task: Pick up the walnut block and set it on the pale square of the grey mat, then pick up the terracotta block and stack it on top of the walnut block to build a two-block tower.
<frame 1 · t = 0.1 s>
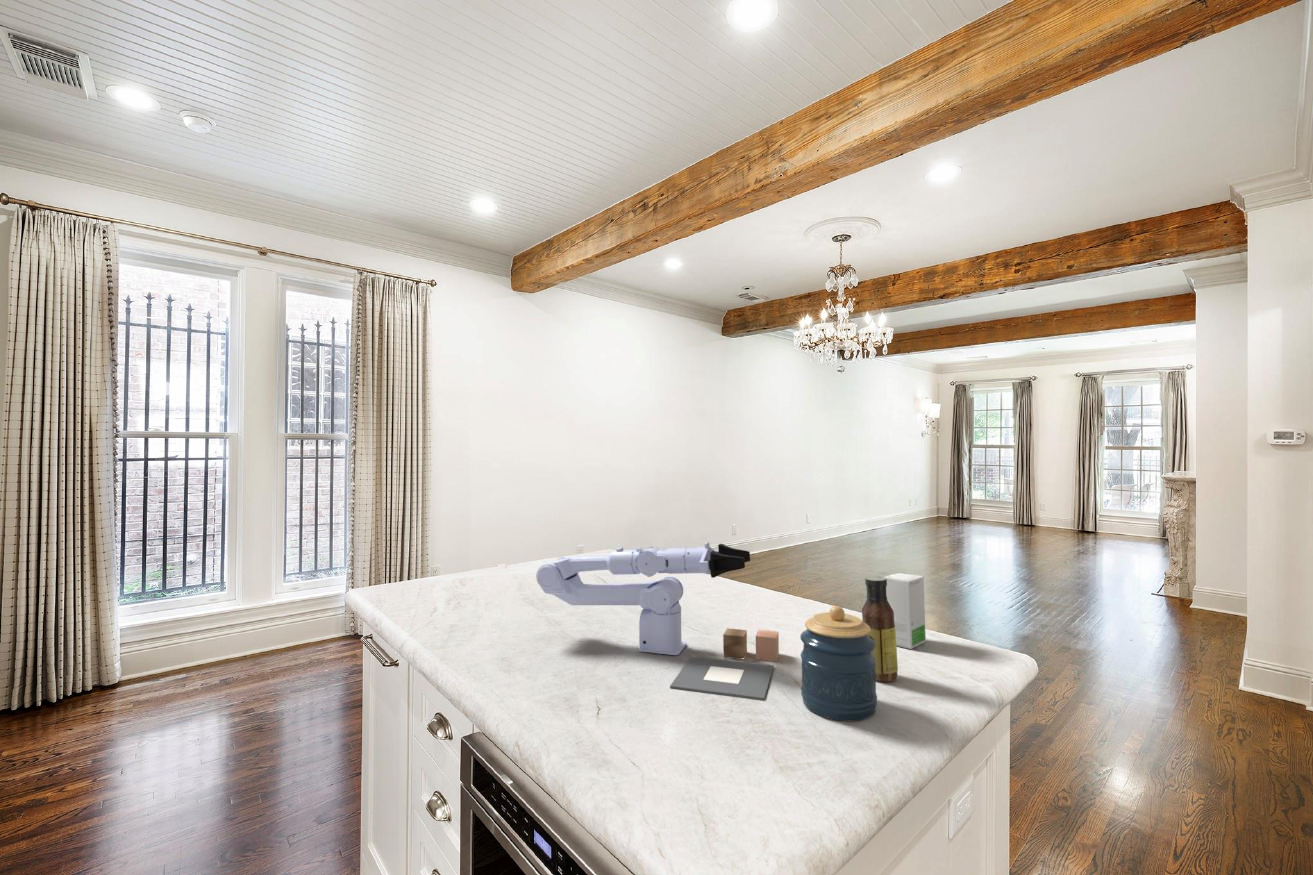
hand: (747, 559, 123), 22 cm above the countertop, tool horizontal, fingers open, 7 cm apart
grey mat: (724, 677, 112), on the countertop
walnut block: (735, 654, 124), on the countertop
canister: (838, 706, 99), on the countertop
terracotta block: (767, 656, 123), on the countertop
sauce bottle: (880, 678, 111), on the countertop
skincare box: (904, 643, 131), on the countertop
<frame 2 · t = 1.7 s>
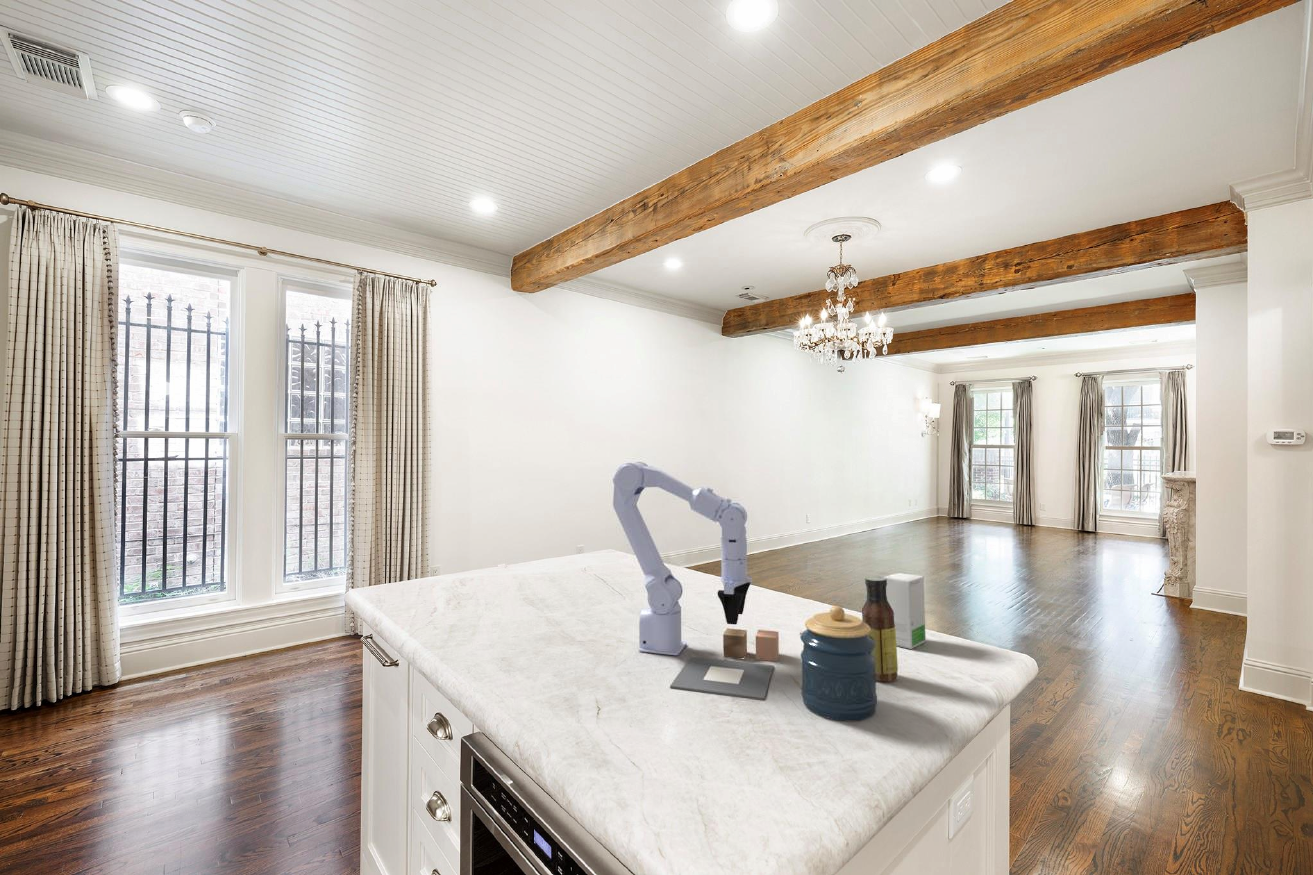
hand: (735, 618, 124), 8 cm above the countertop, tool pointing down, fingers open, 7 cm apart
nothing on the countertop moved.
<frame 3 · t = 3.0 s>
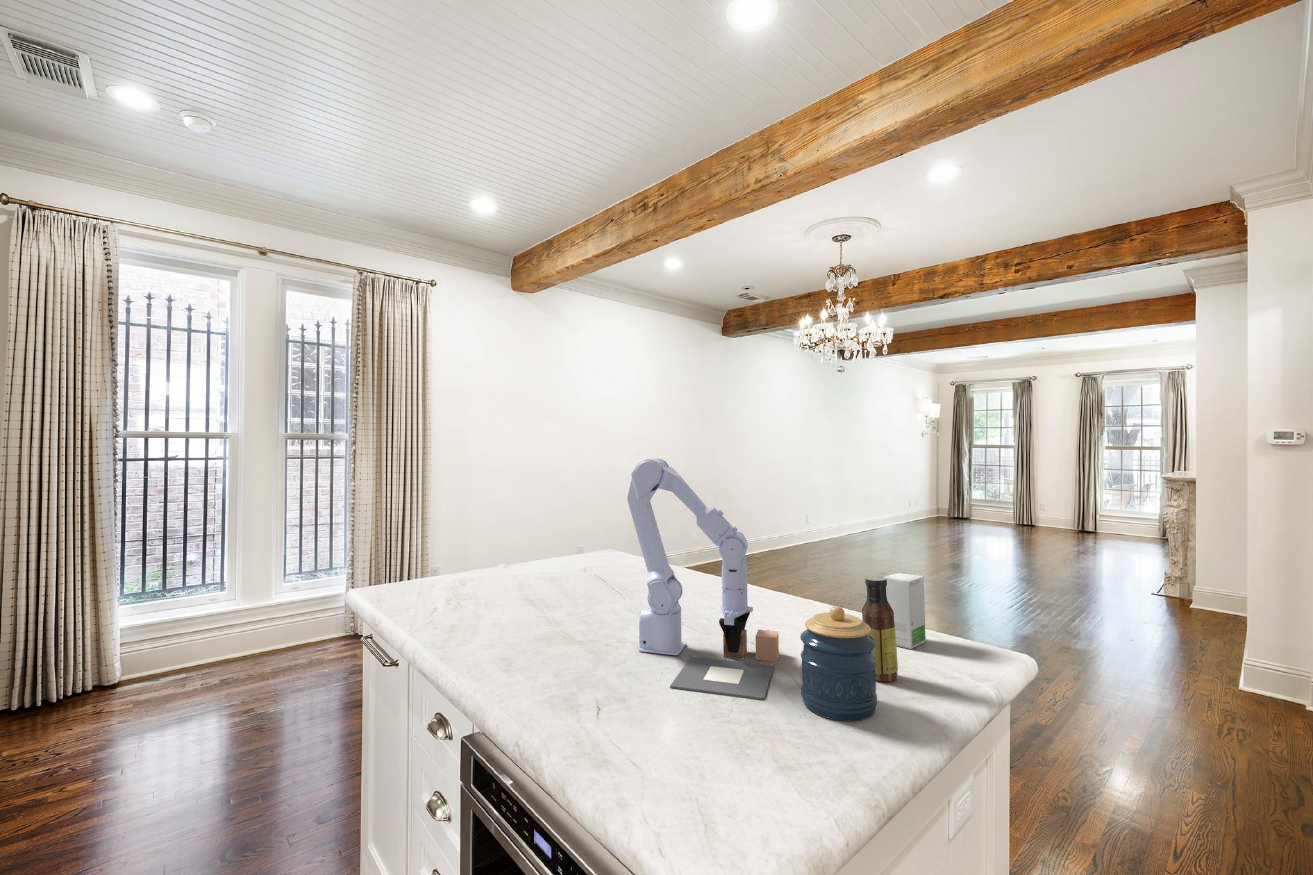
hand: (735, 647, 124), 1 cm above the countertop, tool pointing down, fingers closed on walnut block, 4 cm apart
walnut block: (735, 654, 124), on the countertop, touching gripper
everything else where it was.
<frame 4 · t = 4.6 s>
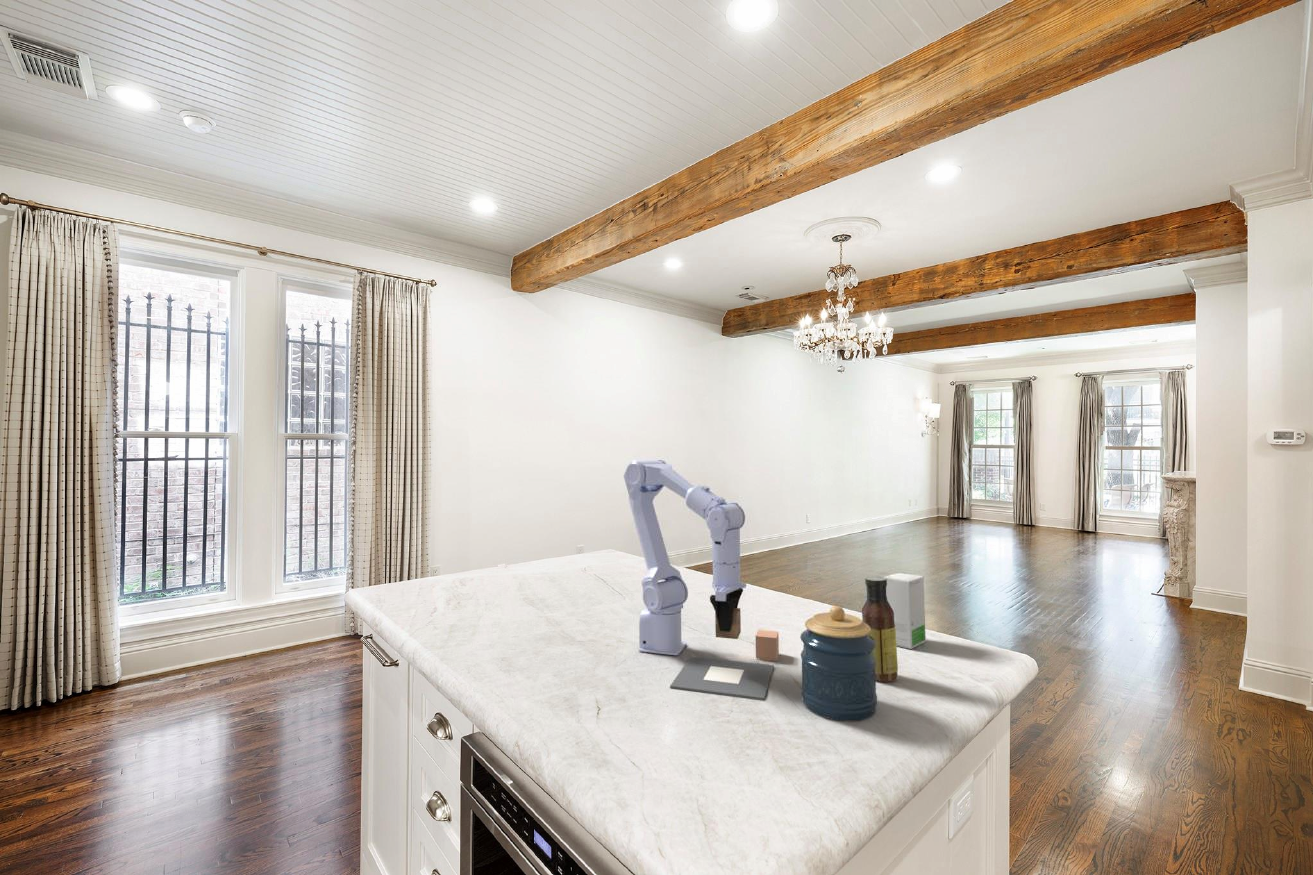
hand: (727, 627, 115), 9 cm above the countertop, tool pointing down, fingers closed on walnut block, 4 cm apart
walnut block: (728, 634, 115), point 7 cm above the countertop, touching gripper
everything else where it was.
when the fingers open (4 cm above the countertop, at t = 6.3 s): walnut block drops 2 cm, resting on grey mat.
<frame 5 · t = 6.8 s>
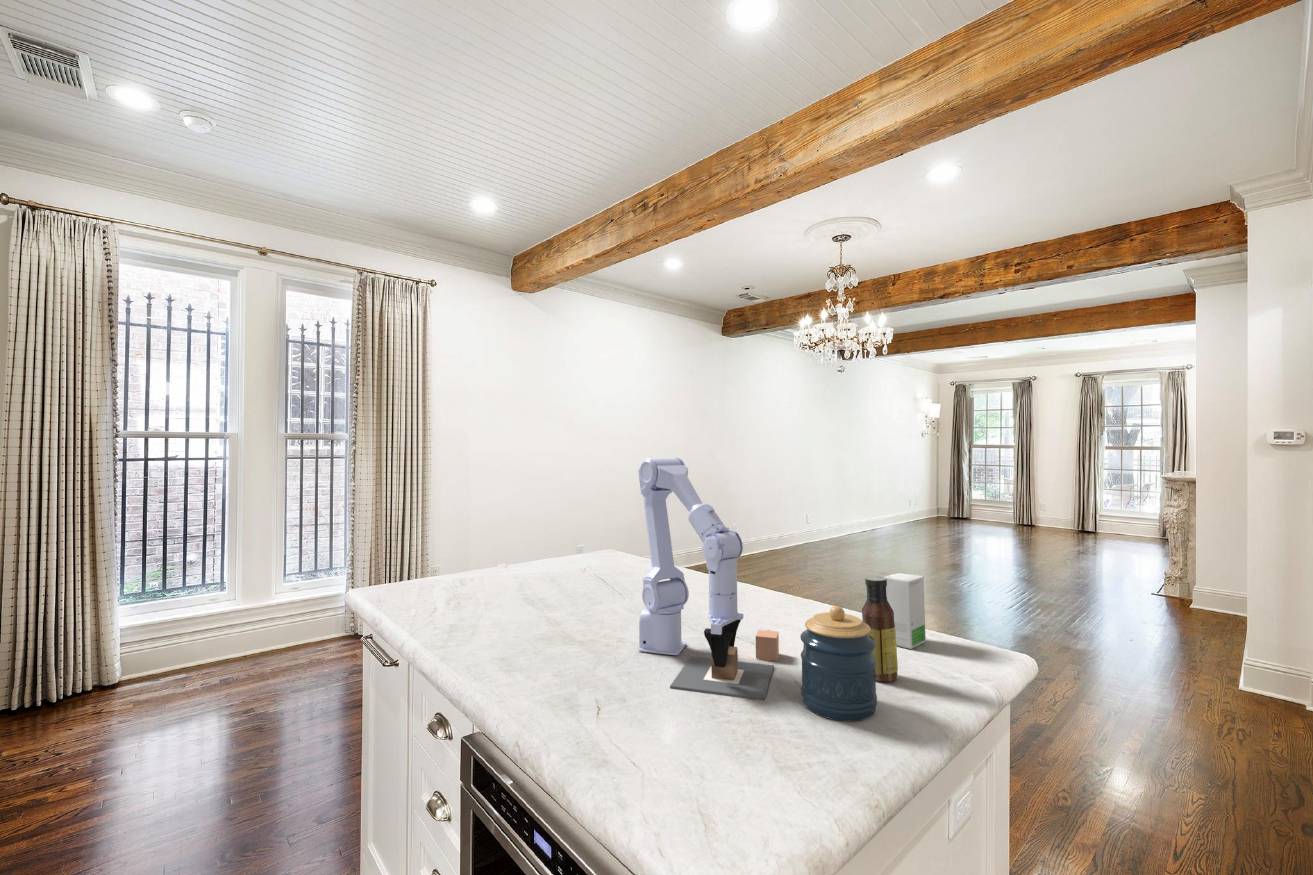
hand: (723, 659, 112), 4 cm above the countertop, tool pointing down, fingers open, 7 cm apart
walnut block: (724, 674, 112), resting on grey mat
everything else where it was.
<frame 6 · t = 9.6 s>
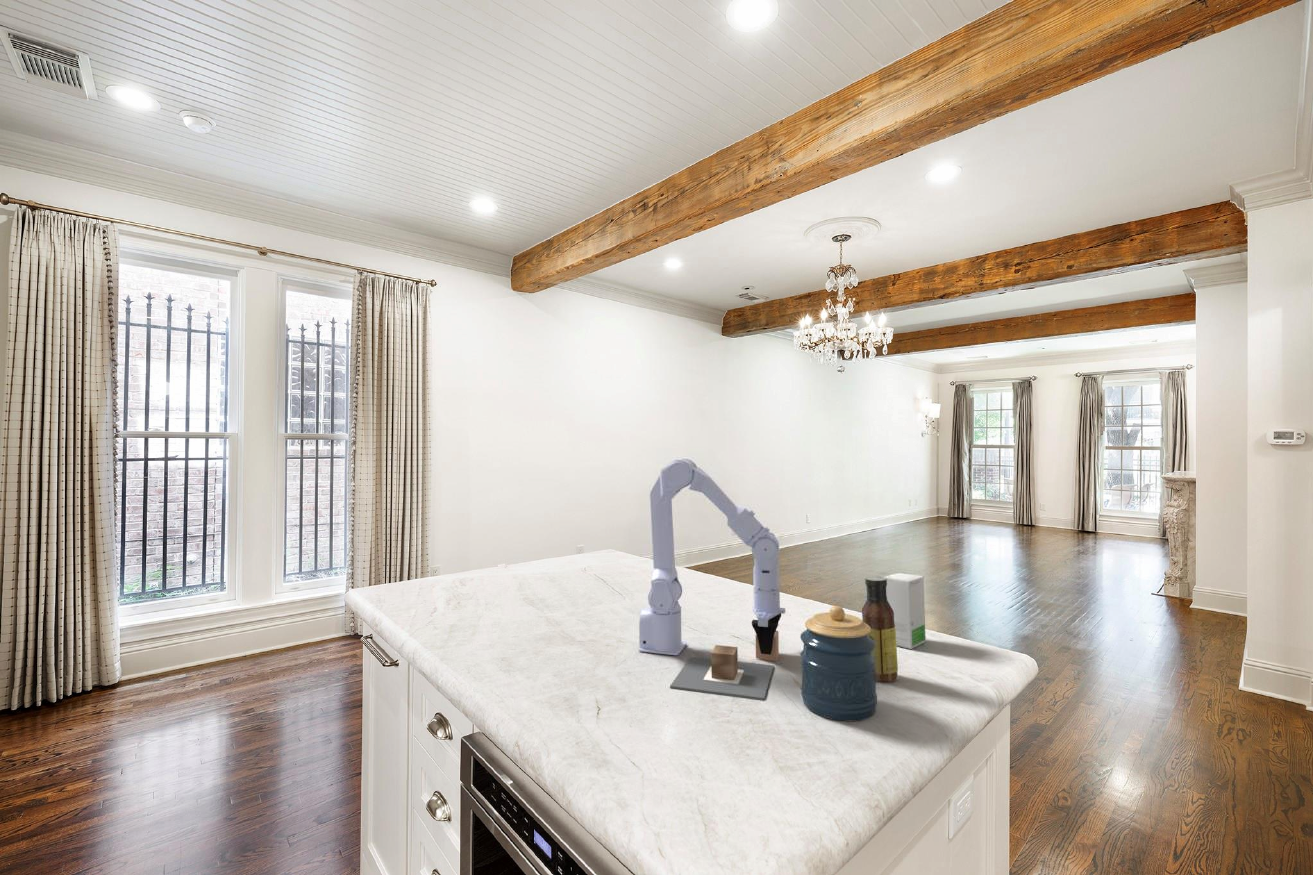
hand: (767, 649, 123), 1 cm above the countertop, tool pointing down, fingers closed on terracotta block, 4 cm apart
terracotta block: (767, 656, 123), on the countertop, touching gripper
everything else where it was.
when the fingers open (8 cm above the countertop, at t = 12.9 s): terracotta block drops 1 cm, resting on walnut block.
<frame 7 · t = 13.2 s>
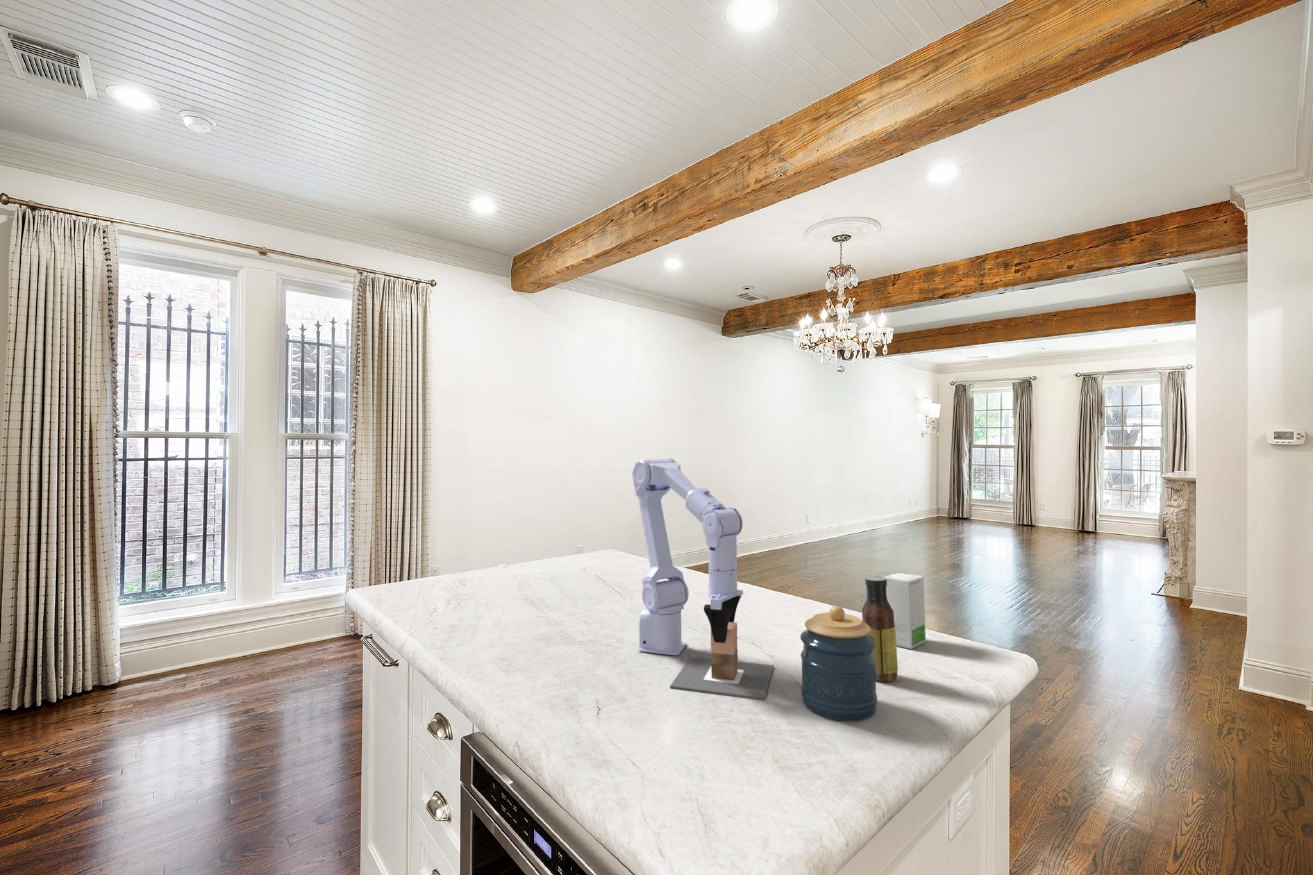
hand: (723, 635, 112), 8 cm above the countertop, tool pointing down, fingers open, 7 cm apart
walnut block: (724, 674, 112), resting on grey mat, touching terracotta block
terracotta block: (724, 649, 112), point 5 cm above the countertop, touching walnut block
everything else where it was.
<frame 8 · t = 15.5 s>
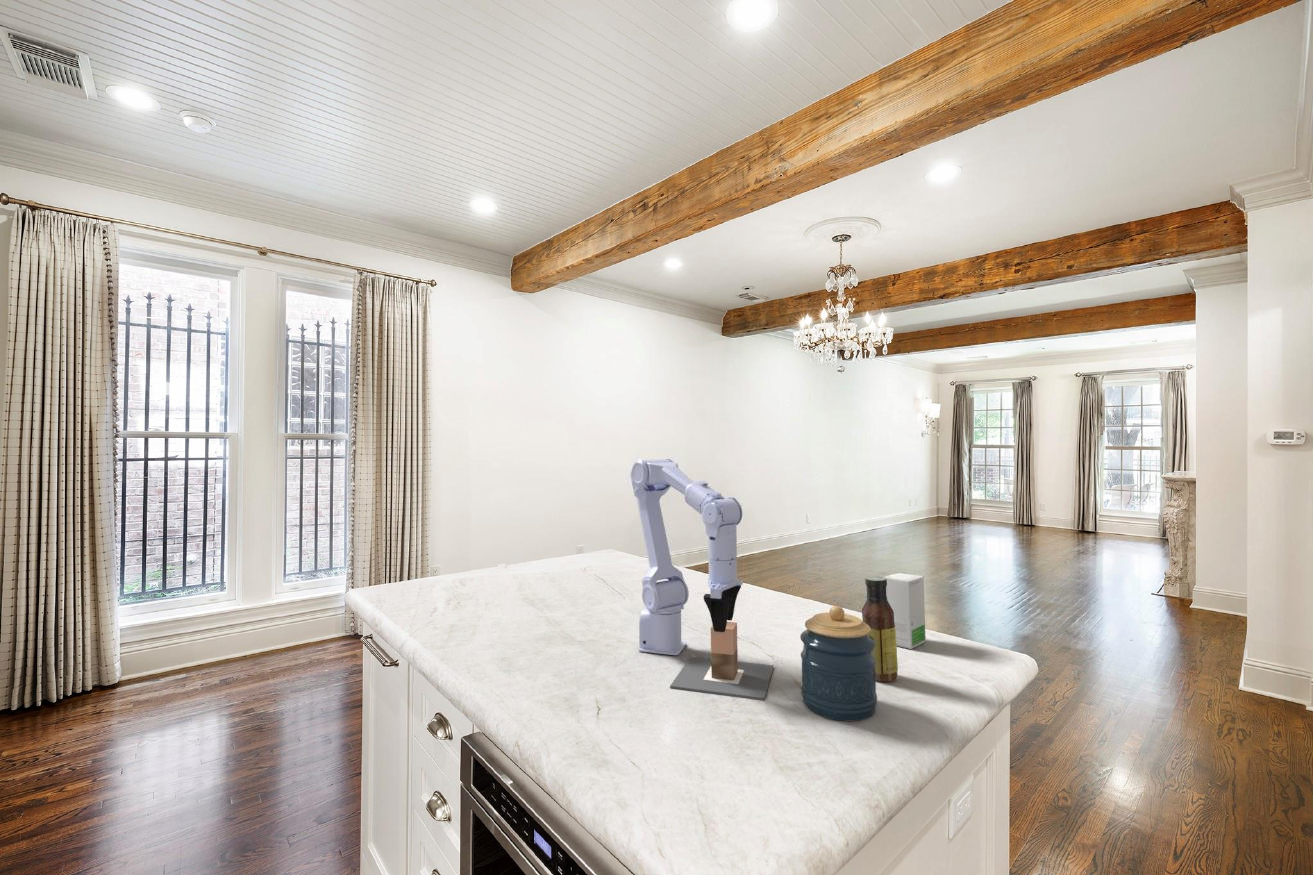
hand: (723, 625, 112), 10 cm above the countertop, tool pointing down, fingers open, 7 cm apart
nothing on the countertop moved.
at the end: walnut block 0.2 cm off-centre on the grey mat, point 0.5 cm above the grey mat's base; terracotta block 0.0 cm off-centre on the walnut block, point 5.0 cm above the walnut block's base; terracotta block tilted 0° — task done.
